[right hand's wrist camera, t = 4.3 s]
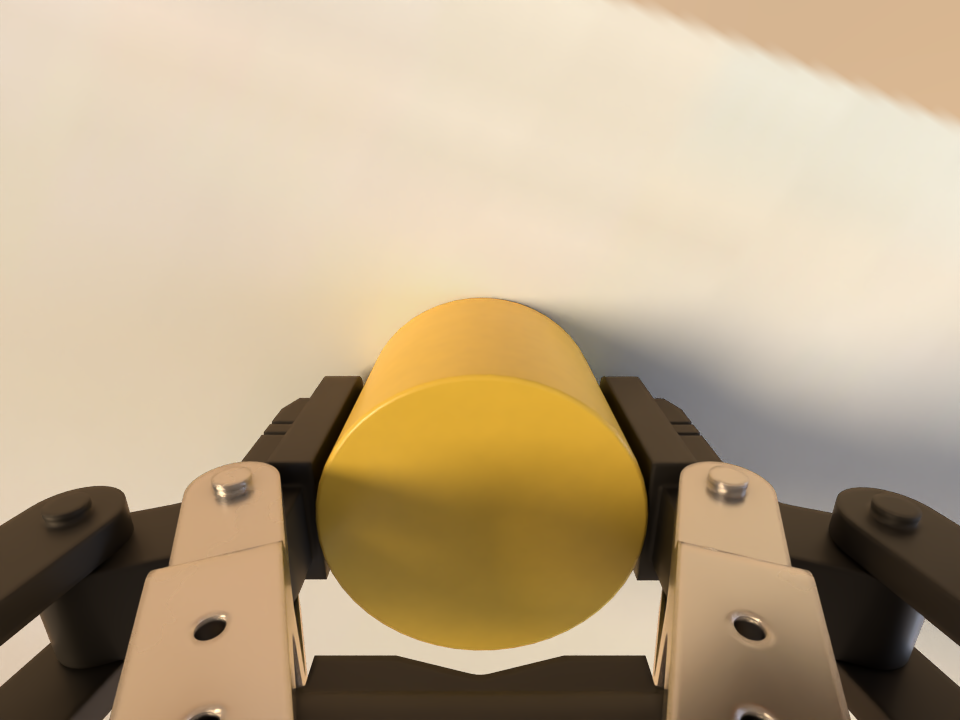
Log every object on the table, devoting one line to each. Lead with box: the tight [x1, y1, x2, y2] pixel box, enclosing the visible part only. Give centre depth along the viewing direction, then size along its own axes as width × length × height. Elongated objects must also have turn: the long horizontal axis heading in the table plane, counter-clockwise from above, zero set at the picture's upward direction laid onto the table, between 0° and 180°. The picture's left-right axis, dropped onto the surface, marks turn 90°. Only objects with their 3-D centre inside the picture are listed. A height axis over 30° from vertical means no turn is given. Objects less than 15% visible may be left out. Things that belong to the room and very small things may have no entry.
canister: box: [316, 298, 648, 650], centre depth 10 cm, size 5×5×4 cm
